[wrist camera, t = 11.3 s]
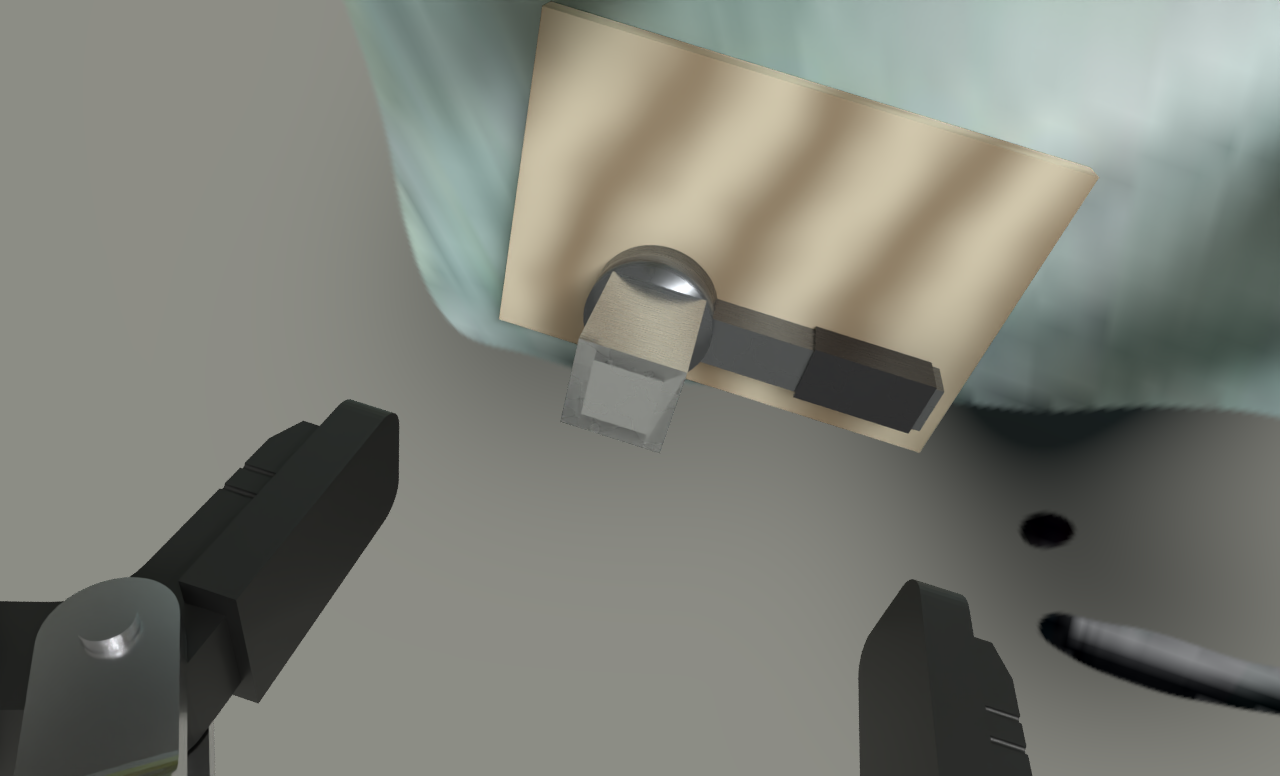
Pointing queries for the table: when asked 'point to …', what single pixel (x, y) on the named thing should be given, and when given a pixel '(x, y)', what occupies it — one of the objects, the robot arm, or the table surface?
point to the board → (774, 203)
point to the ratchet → (788, 348)
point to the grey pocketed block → (632, 361)
